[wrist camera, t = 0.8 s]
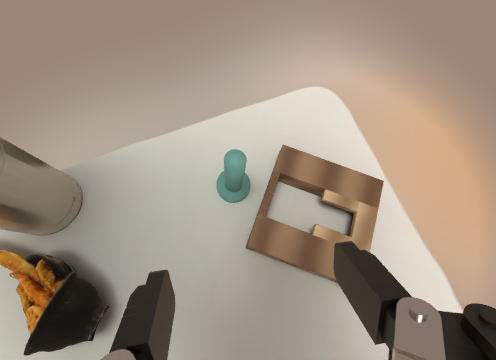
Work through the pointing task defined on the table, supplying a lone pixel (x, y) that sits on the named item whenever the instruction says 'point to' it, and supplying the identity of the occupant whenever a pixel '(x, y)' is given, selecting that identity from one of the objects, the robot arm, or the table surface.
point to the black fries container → (54, 302)
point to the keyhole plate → (322, 239)
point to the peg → (233, 177)
